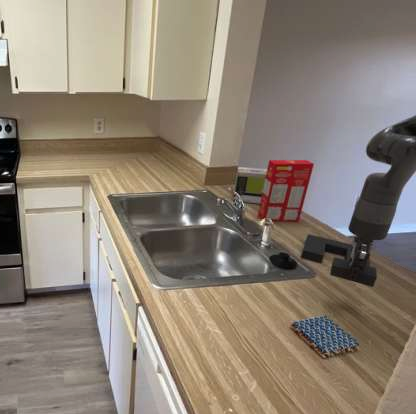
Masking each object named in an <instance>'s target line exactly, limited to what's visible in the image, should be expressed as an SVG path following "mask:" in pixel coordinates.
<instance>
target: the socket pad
mask: <svg viewBox="0 0 416 414" xmlns="http://www.w3.org/2000/svg"><path fill="white" fill-rule="evenodd" d="M352 244H353V243H352ZM352 244H351V243H347V242H344V241H343V242H342V241H339V240H336V239H335V240H334V239H330V238H326V237H323V236H319V235H314V234H310V233H309V234H307V236H306V238H305V241H304V244H303V248H302V252H301V255H300V258H301V259H305V260H309V261H311V262H316V263H320V264H322V263H323V258H324V255H325V252H327V253H330V254H333V255H339V256H342V257H344V260H347V261H350V258H351V257H350V256H351V255H350V253H351V252H352V251H351V246H352ZM370 257H371V255H370V256H369V259H368V261H367V263H366V265H367V266H371V258H370Z"/></svg>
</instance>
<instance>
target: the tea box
mask: <svg viewBox="0 0 416 414" xmlns="http://www.w3.org/2000/svg"><path fill="white" fill-rule="evenodd" d="M266 173H267V168H258V167H257V168H256V167H242V166H238V167H237V170H236V177H235V182H234V183H235V185H234V191H235V192H237V193H238V194H239V195H240V197H241V198H242V200H243V201H244V202H243V203H250V204H259V205H260V202H261V197H262V192H263V188H264V183H265V178H266ZM234 191H233V192H234ZM234 199H235V197H234V196H233V200H234Z"/></svg>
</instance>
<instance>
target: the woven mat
mask: <svg viewBox="0 0 416 414" xmlns="http://www.w3.org/2000/svg"><path fill="white" fill-rule="evenodd" d="M289 327H290V328H291V329H292V330H294V331H295V332H296V333H297V334H298V335H299V337H300V338H301V339H303V340H304V341H305V342H306V343H307V344H308V345H309V346H311V347H312V348H313V349H314V350H315V352H317V354H319V355H320V356H321V357H322V358H323V359H326V358H327V356H331V357H335V354H336V355H338V354H341V353H342V354H344V353H346V351H347V352H351V353H354V352H355V350H359V348H360V347H359V346H360V343H359V342H357V339H356V338H353V337H352V336H351V334H350V333H347V332H344V331H345V329H344V328H341V327H339V324H336V323H335V322H334V320H333V319H330V318H328V316H327V315H324V316H323V315H318V316H316V317H315V316H313V317H308V318H303V319H298V320H294V321H293V322H292V324H291V323H290V326H289ZM350 336H351V337H350Z"/></svg>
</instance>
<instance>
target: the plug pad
mask: <svg viewBox="0 0 416 414" xmlns="http://www.w3.org/2000/svg"><path fill="white" fill-rule="evenodd" d="M350 264H351V261H347V260H345V259H343V258H340V257H336V256H334V257H333V260H332V263H331V267H330V273H329V275H330V276H331V277H332V276H333V277H336V278H339V279H343V280H346V281H348V280H347V274H348V272H349V269H350ZM355 264H358V263H355ZM358 265H361V264H358ZM377 278H378V274H377V267H374V266H371V265H370V266H367V265H365V268H364V271H363V272H360V275H359V277H358V280H357V282H356V283H357V284H360V285H364V286H368V287H371V288H374V286H375V283H376V281H377Z"/></svg>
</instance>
